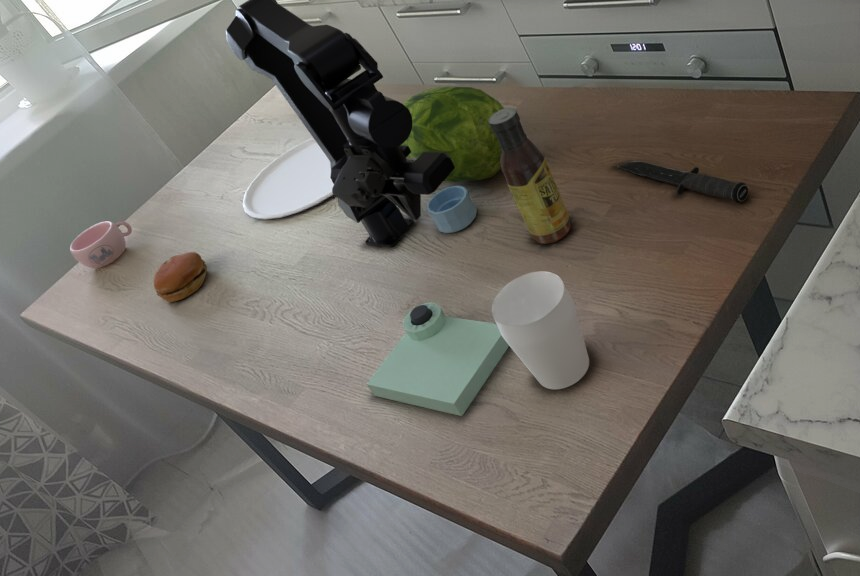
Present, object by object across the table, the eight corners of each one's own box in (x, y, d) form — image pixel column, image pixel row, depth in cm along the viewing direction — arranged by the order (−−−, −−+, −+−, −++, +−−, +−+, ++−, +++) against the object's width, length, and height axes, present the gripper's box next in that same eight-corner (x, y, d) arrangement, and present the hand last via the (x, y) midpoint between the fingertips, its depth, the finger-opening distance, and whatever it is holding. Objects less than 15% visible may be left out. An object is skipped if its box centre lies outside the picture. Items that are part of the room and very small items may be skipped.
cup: (525, 354, 106) (488, 285, 98) (594, 332, 104) (561, 260, 97) (530, 407, 99) (491, 337, 91) (604, 384, 97) (569, 311, 90)
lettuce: (438, 139, 159) (401, 67, 149) (544, 150, 141) (509, 69, 132) (386, 189, 152) (344, 116, 142) (490, 206, 134) (450, 125, 125)
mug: (93, 280, 167) (72, 258, 164) (83, 265, 174) (63, 243, 171) (146, 244, 171) (127, 222, 167) (134, 230, 178) (116, 208, 175)
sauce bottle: (569, 242, 120) (517, 125, 108) (529, 249, 122) (474, 135, 110) (576, 213, 124) (528, 98, 112) (537, 220, 127) (486, 108, 115)
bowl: (430, 234, 135) (418, 212, 132) (453, 206, 139) (442, 184, 136) (463, 236, 131) (451, 214, 128) (485, 208, 135) (474, 185, 132)
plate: (401, 153, 160) (398, 148, 159) (269, 241, 153) (265, 236, 152) (346, 118, 182) (344, 113, 181) (229, 193, 175) (226, 189, 174)
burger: (181, 306, 146) (165, 287, 144) (153, 300, 152) (137, 281, 149) (221, 268, 152) (206, 248, 149) (193, 263, 157) (178, 244, 154)
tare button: (410, 324, 113) (405, 317, 112) (421, 310, 114) (416, 303, 113) (424, 326, 111) (420, 319, 110) (435, 312, 113) (431, 305, 112)
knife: (753, 187, 112) (742, 180, 111) (737, 219, 113) (726, 212, 111) (634, 145, 130) (623, 138, 129) (620, 173, 131) (609, 166, 129)
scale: (373, 395, 110) (358, 375, 108) (430, 320, 118) (418, 300, 115) (462, 416, 102) (448, 395, 99) (517, 333, 109) (505, 312, 107)
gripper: (279, 162, 111) (337, 250, 121) (379, 167, 100) (434, 263, 110) (332, 112, 117) (383, 200, 127) (431, 112, 106) (478, 208, 116)
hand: (417, 218), depth 120 cm, fingers closed
